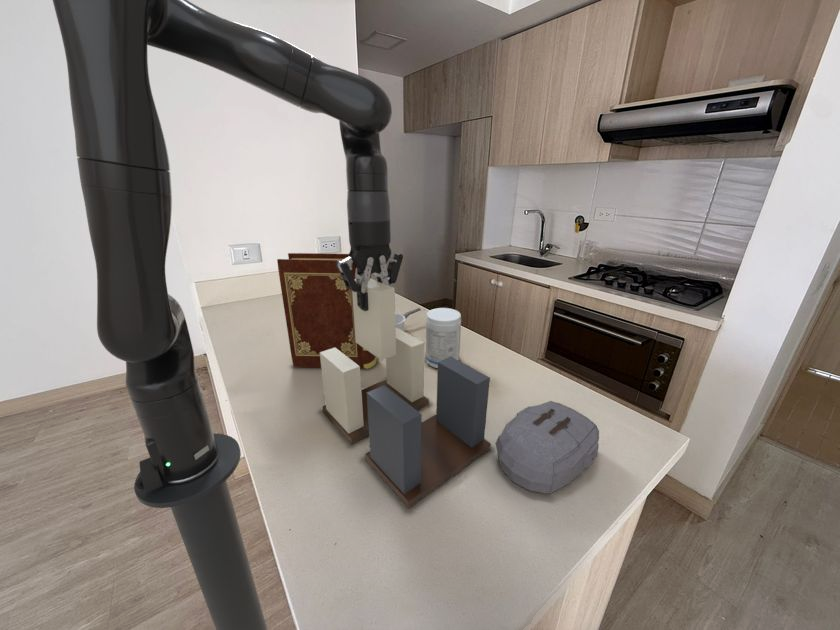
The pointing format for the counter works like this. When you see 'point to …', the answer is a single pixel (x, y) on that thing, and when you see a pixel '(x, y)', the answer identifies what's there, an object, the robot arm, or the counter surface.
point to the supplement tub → (442, 335)
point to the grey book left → (395, 437)
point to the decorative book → (319, 309)
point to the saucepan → (403, 318)
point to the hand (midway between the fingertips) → (373, 307)
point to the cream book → (376, 320)
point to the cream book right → (407, 366)
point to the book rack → (438, 449)
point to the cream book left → (342, 389)
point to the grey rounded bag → (547, 446)
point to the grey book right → (462, 400)
